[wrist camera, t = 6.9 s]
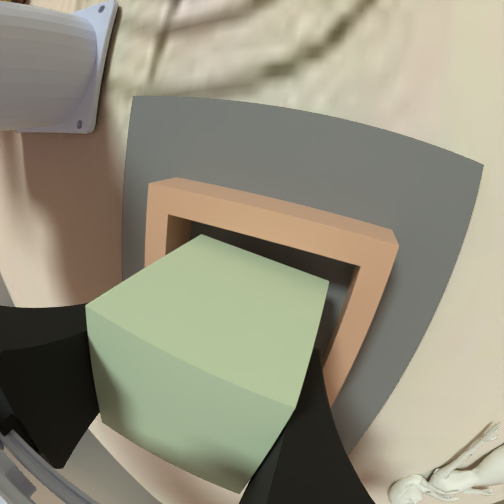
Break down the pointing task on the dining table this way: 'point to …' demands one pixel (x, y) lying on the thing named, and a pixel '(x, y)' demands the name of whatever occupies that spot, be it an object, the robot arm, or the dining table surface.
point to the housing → (308, 222)
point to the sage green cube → (205, 356)
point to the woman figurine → (454, 477)
